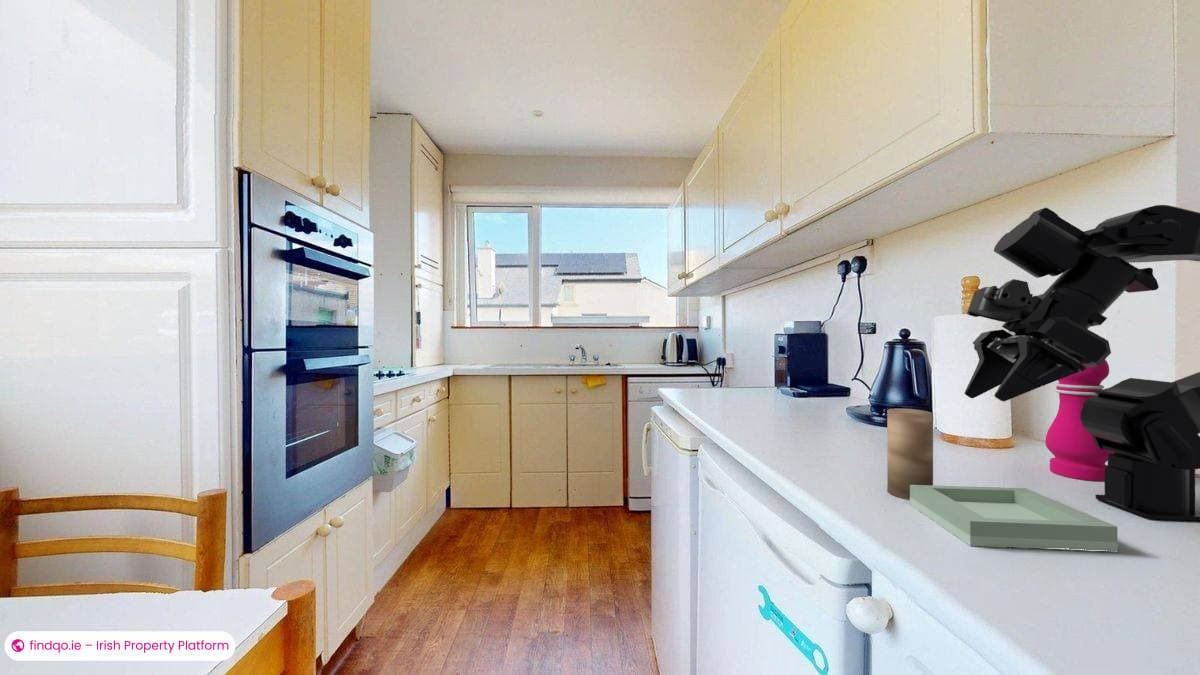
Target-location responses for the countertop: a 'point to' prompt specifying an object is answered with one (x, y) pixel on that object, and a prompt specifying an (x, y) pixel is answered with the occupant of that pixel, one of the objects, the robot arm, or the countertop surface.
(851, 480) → the countertop surface
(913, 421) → the walnut leg
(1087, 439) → the pepper mill
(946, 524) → the socket board
